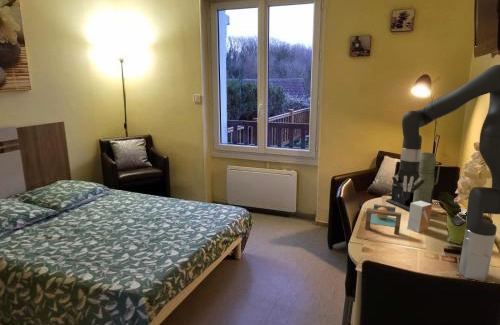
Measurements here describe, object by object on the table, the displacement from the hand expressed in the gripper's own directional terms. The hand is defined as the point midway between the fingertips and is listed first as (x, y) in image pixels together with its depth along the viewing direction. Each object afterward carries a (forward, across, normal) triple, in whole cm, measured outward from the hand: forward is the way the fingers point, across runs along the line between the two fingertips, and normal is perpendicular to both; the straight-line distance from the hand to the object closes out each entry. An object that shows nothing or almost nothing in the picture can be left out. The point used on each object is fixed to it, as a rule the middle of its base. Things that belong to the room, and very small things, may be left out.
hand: (405, 199), depth 153 cm
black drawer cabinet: (+19, -7, -55) cm, 59 cm away
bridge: (+20, +7, -14) cm, 25 cm away
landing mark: (+19, +7, -28) cm, 34 cm away
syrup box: (+20, -24, -14) cm, 34 cm away
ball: (+16, +7, -30) cm, 35 cm away
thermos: (+19, -11, -36) cm, 42 cm away
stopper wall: (+19, +6, -43) cm, 47 cm away
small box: (+20, -9, -23) cm, 31 cm away
